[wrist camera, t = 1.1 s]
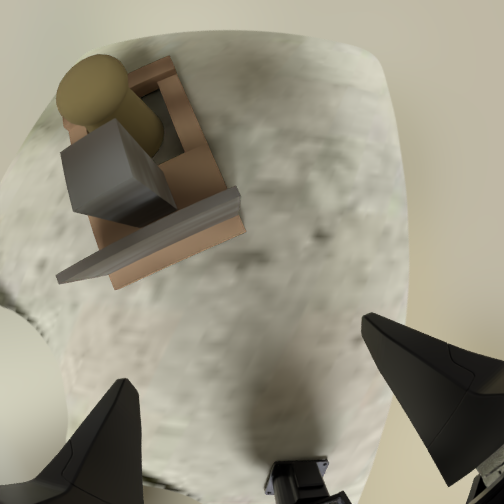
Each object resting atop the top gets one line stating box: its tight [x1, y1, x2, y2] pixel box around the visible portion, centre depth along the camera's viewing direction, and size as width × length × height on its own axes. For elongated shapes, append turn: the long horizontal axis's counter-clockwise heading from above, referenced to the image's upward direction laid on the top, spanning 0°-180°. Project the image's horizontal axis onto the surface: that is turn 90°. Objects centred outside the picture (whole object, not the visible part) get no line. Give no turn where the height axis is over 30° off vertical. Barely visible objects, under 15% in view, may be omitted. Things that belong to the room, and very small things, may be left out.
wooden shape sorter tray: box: [56, 56, 246, 290], centre depth 16 cm, size 18×12×11 cm, turn 24°
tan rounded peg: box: [56, 54, 164, 158], centre depth 17 cm, size 6×6×11 cm
